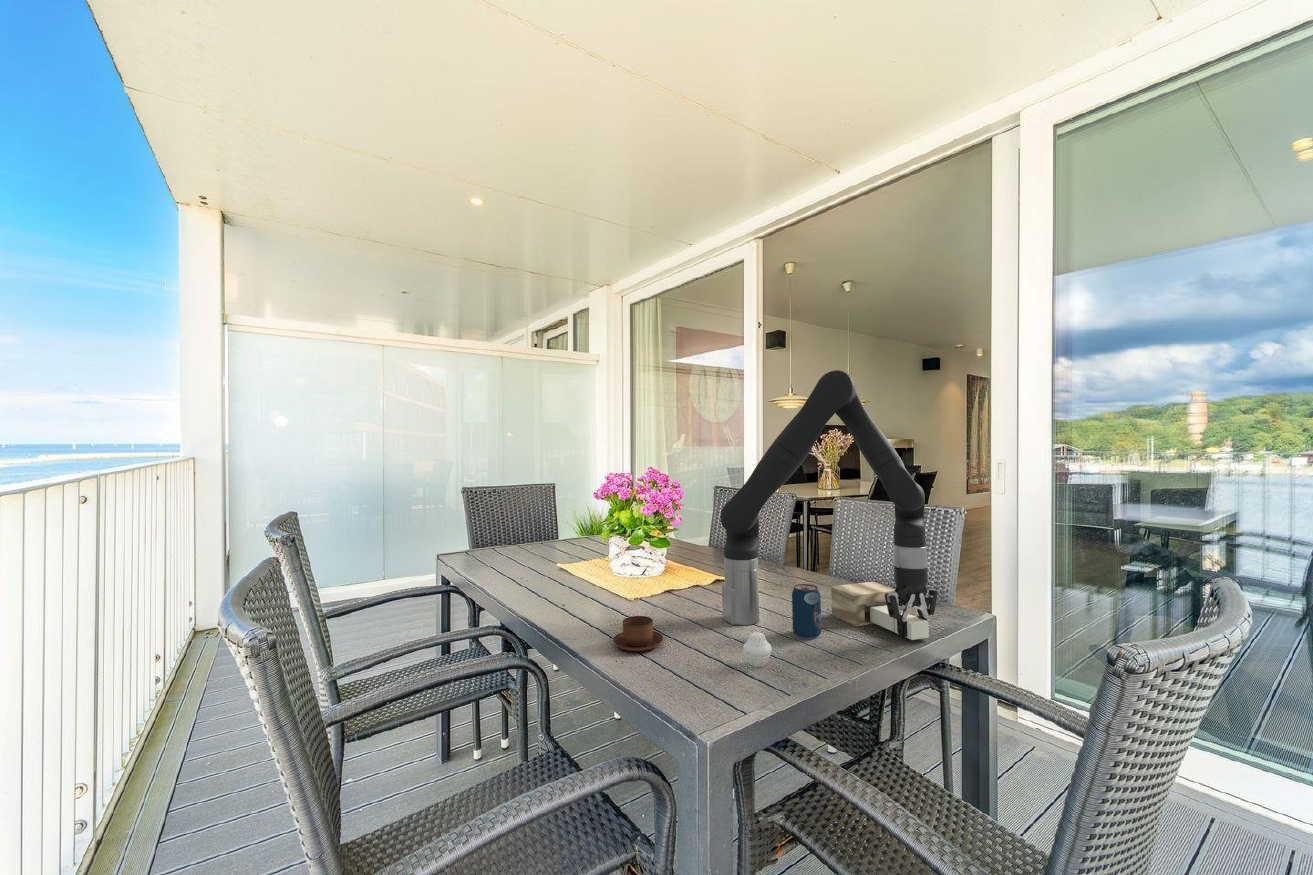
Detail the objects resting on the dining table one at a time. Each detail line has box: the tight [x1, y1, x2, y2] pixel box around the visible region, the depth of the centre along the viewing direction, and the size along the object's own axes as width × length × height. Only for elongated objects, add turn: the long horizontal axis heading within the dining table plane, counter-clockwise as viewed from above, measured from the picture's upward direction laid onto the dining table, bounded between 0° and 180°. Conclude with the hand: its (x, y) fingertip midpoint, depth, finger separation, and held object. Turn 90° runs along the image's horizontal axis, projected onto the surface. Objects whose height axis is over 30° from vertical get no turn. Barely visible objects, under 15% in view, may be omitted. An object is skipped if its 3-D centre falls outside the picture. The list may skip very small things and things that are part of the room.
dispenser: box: [830, 581, 898, 627], centre depth 145 cm, size 14×11×8 cm
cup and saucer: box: [613, 615, 664, 652], centre depth 128 cm, size 12×12×6 cm
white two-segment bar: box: [870, 605, 930, 641], centre depth 133 cm, size 5×14×4 cm, turn 17°
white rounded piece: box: [742, 631, 773, 668], centre depth 116 cm, size 6×6×7 cm
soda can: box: [791, 583, 822, 640], centre depth 133 cm, size 7×7×12 cm
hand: (912, 633), depth 128 cm, fingers closed on white two-segment bar, 5 cm apart
